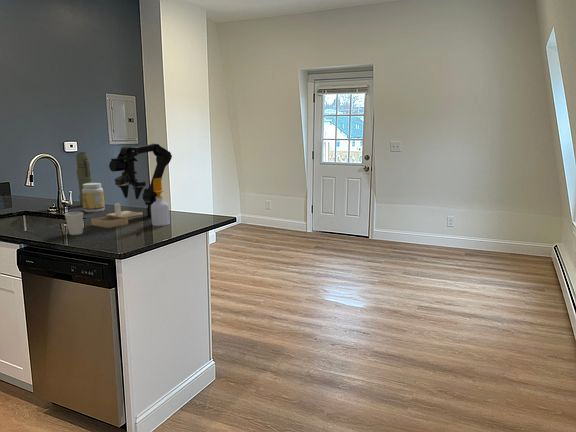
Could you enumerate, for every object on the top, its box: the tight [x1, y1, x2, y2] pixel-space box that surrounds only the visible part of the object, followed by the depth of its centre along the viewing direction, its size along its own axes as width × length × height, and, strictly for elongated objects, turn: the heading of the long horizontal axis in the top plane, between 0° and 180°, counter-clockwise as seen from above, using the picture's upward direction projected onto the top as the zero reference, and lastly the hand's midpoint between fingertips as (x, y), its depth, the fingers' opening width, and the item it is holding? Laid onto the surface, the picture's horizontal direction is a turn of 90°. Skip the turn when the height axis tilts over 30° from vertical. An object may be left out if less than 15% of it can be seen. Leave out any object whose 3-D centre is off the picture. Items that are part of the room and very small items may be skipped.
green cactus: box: [75, 151, 93, 207], centre depth 288 cm, size 9×12×35 cm
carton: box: [90, 215, 129, 229], centre depth 230 cm, size 12×14×4 cm
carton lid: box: [105, 202, 144, 218], centre depth 236 cm, size 12×14×7 cm
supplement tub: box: [82, 182, 106, 213], centre depth 270 cm, size 12×12×17 cm
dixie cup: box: [64, 211, 84, 236], centre depth 210 cm, size 8×8×10 cm
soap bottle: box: [150, 177, 171, 227], centre depth 227 cm, size 9×9×25 cm
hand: (131, 198), depth 240 cm, fingers open, 9 cm apart
